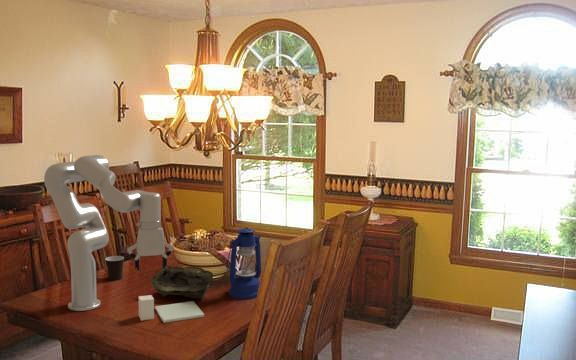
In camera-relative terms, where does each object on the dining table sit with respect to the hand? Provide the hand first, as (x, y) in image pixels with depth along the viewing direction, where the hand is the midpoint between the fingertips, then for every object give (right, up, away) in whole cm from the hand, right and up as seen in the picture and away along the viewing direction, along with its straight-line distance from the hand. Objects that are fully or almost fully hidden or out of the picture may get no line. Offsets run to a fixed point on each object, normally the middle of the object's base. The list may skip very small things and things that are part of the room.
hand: (150, 268), depth 204 cm
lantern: (+34, -17, +34) cm, 51 cm away
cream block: (-3, -20, +4) cm, 20 cm away
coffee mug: (-30, -13, +52) cm, 62 cm away
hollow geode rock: (+7, -17, +27) cm, 33 cm away
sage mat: (+9, -19, +9) cm, 23 cm away
